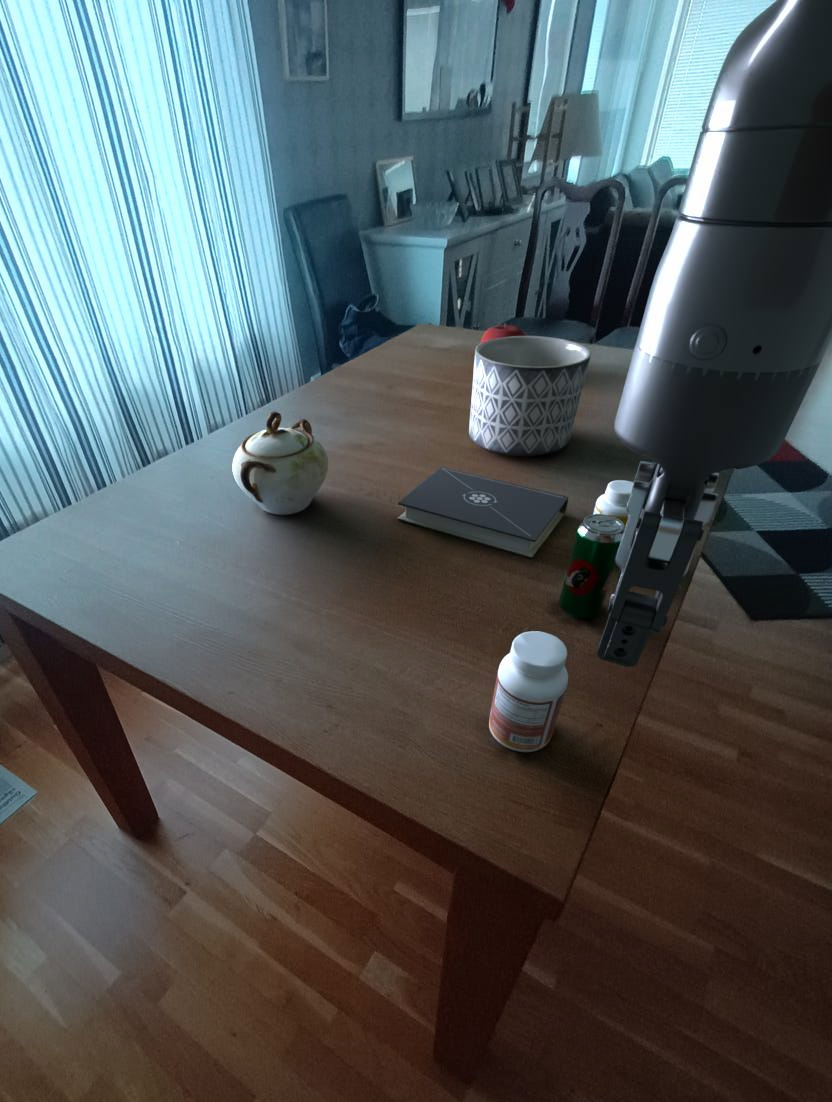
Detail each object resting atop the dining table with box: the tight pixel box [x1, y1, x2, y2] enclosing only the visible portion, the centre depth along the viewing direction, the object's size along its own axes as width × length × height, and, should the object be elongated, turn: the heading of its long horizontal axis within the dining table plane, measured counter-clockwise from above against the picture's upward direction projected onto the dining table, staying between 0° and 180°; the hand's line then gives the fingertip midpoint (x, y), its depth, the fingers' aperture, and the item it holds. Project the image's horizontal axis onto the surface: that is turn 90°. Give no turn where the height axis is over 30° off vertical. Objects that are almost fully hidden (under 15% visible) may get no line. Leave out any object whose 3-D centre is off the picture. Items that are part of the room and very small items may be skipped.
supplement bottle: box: [592, 479, 634, 530], centre depth 77 cm, size 6×6×10 cm
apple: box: [479, 322, 526, 344], centre depth 136 cm, size 11×11×12 cm
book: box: [397, 466, 569, 559], centre depth 88 cm, size 22×15×3 cm
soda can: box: [558, 513, 624, 620], centre depth 68 cm, size 5×5×12 cm
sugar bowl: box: [231, 410, 329, 516], centre depth 90 cm, size 20×15×15 cm
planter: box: [468, 335, 592, 457], centre depth 104 cm, size 19×19×16 cm
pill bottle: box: [488, 630, 569, 753], centre depth 54 cm, size 6×6×11 cm
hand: (625, 618), depth 37 cm, fingers open, 8 cm apart
